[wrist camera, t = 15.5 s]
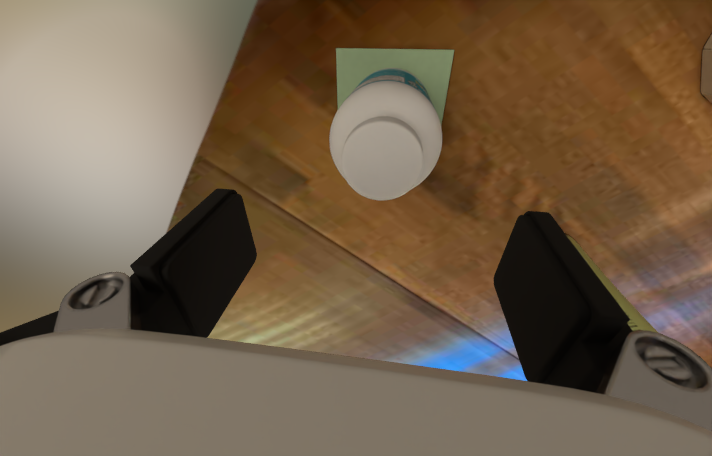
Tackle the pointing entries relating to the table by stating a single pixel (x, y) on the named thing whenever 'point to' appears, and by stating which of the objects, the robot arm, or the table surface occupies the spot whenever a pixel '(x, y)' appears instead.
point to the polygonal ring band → (707, 70)
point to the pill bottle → (386, 135)
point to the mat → (420, 62)
